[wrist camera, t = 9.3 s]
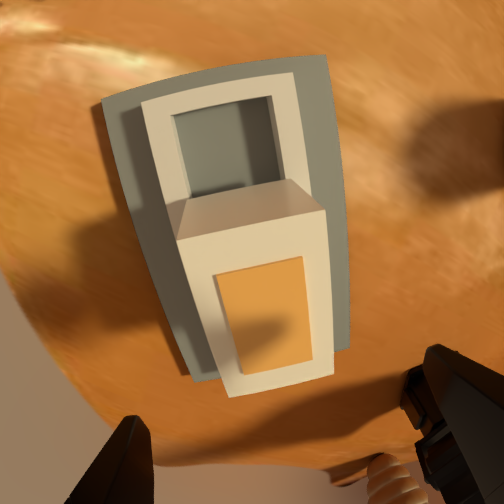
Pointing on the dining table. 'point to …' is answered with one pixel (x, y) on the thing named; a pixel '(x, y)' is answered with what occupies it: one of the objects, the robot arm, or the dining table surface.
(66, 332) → the dining table surface
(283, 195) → the block
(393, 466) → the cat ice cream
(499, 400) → the robot arm
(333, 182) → the rail panel
